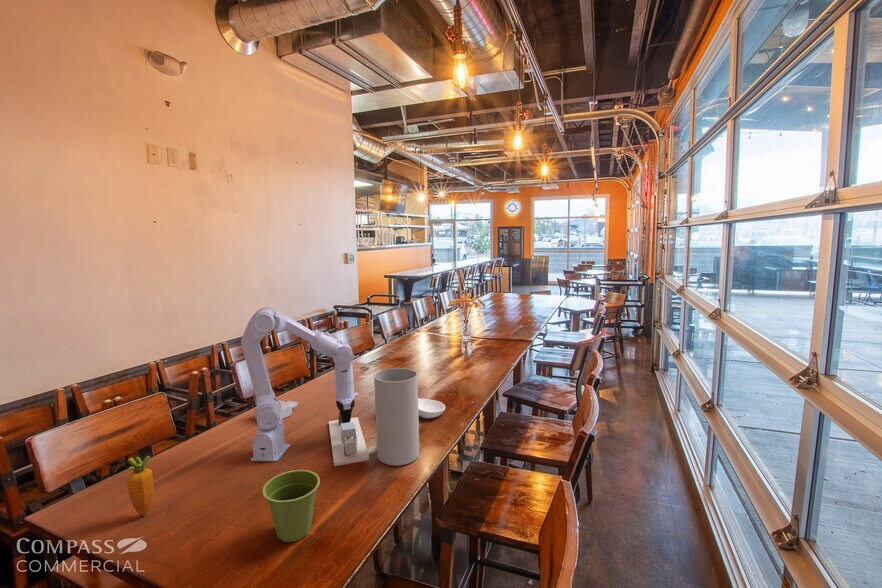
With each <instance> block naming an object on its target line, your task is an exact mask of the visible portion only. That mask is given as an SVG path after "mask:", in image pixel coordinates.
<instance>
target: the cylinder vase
mask: <svg viewBox="0 0 882 588" xmlns="http://www.w3.org/2000/svg"><path fill="white" fill-rule="evenodd" d="M418 375H419V374H418V372H417V371H416V370H414V369H411V368H406V367H405V368H404V367H395V368H394V367H393V368H392V367H391V368H386V369H382V370H379V371H377V372H376V373H374V375H373V381H374V404H375V405H374V407H375V429H376V431H375V434H376V437H375V438H376V455H377V457H376V458H377V459H378V461H380V462H381V463H382V464H384V465H388V466H393V467H394V466H395V467H397V466H399V467H400V466H404V465H408V464H410V463H413V462H414V461H415V460H417V458H418V457H419V456H420V421H419V420H420V419H419V417H420V416H419V415H418V398H419V387H418V385H419V380H418Z"/></svg>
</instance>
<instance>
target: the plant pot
mask: <svg viewBox="0 0 882 588" xmlns="http://www.w3.org/2000/svg"><path fill="white" fill-rule="evenodd" d="M320 483H321V478H320V477H319V475H318V473H315V472H313V471H312V470H305V469H295V470H289V471H284V472H282V473H279V474H277V475H275V476H273V477H272V478H271V479H269V480H268V481H267V482H266V483H265V484H264V485H263V487H262V496H263V497H264V498H265V499H266V501H267V505H268V507H269V509H270V513H271V518H272V521H273V525H274V529H275V533H276V538H278V540H280V541H282V542H284V543H292V542H293V543H294V542H297V541H300V540H302V539H303V538H304V537H305V536H307V535H309V534H310V531H311V529H312V524H313V523H312V522H313V515H314V507H315V499H316V495H317V492H318V488H319V487H320Z"/></svg>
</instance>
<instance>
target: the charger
mask: <svg viewBox="0 0 882 588" xmlns="http://www.w3.org/2000/svg"><path fill="white" fill-rule="evenodd" d="M277 400H278V401H279V402H280V404H281V411H280V418H281V419H282V420H284V419H286V418H288V417H290V416H292V415H293V409H294V408H297V407H298V404H300V402H299V401H296V400H294V401H293V400H288V401H283V400H280V399H277ZM257 416H258V410H257V407H255V408H254V418H255V420H256V421H257Z"/></svg>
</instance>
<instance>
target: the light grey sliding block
mask: <svg viewBox="0 0 882 588" xmlns="http://www.w3.org/2000/svg"><path fill="white" fill-rule="evenodd" d="M340 432H341V441H342V444H344V440H345V438H347V437H352V438H355V439H356V442H357V435H356V428H355V424H354V422H348V423H342V424H341V430H340Z"/></svg>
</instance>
